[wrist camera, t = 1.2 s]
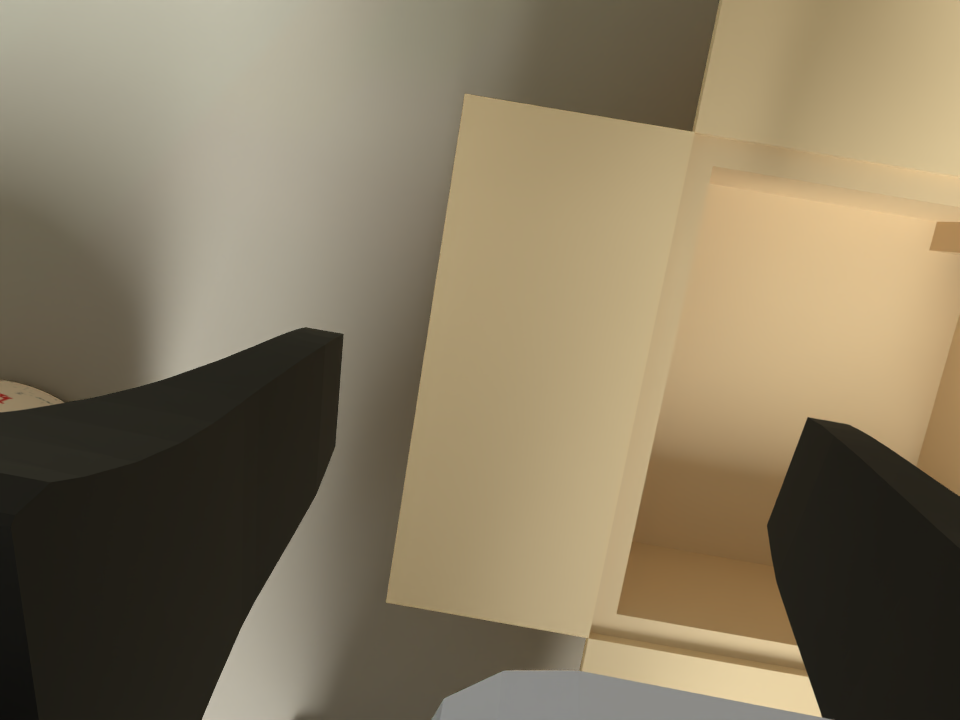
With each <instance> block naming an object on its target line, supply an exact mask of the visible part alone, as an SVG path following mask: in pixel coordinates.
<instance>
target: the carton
mask: <svg viewBox="0 0 960 720" xmlns="http://www.w3.org/2000/svg"><path fill="white" fill-rule="evenodd" d="M807 417H810V418H816V419H821V420H827V421H832V422H838V423H844V424H849V425H851V426H853V427H855V428H857V429H859V430H861V431H863V432H864V433H866V434H868V435H869V436H871V437H873V438H874V439H876V440H877V441H879V442H881V443H882V444H884V445H885V446H887V447H888V448H890V449H891V450H893V451H894V452H896V453H897V454H899V455H900V456H902V457H903V458H904V459H906V460H907V461H909V462H910V463H912V464H913V465H915V466H916V467H917V468H919V469H920V470H922V471H923V472H925V473H926V474H928V475H929V476H930V477H932V478H933V479H935V480H936V481H938V482H939V483H941V484H942V485H944V486H945V487H946V488H948V489H949V490H951V491H952V492H954V493H955V494H957V495H958V496H960V0H720V1H719V5H718V10H717V15H716V20H715V25H714V29H713V34H712V39H711V44H710V49H709V53H708V58H707V63H706V68H705V72H704V77H703V82H702V87H701V92H700V96H699V101H698V106H697V111H696V115H695V120H694V125H693V130H692V131H686V130H680V129H674V128H668V127H662V126H656V125H650V124H644V123H638V122H632V121H626V120H620V119H614V118H608V117H602V116H596V115H590V114H584V113H578V112H572V111H566V110H560V109H554V108H548V107H542V106H536V105H530V104H524V103H518V102H512V101H506V100H500V99H494V98H488V97H482V96H476V95H470V94H465V95H464V101H463V108H462V114H461V121H460V127H459V134H458V140H457V147H456V153H455V159H454V166H453V172H452V179H451V185H450V192H449V198H448V204H447V211H446V217H445V224H444V230H443V237H442V243H441V250H440V256H439V262H438V269H437V275H436V282H435V288H434V295H433V301H432V308H431V314H430V320H429V327H428V333H427V340H426V346H425V353H424V359H423V366H422V372H421V378H420V385H419V391H418V398H417V404H416V411H415V417H414V424H413V430H412V436H411V443H410V449H409V456H408V462H407V469H406V475H405V482H404V488H403V494H402V501H401V507H400V514H399V520H398V527H397V533H396V540H395V546H394V552H393V559H392V565H391V572H390V578H389V585H388V591H387V597H386V603H391V604H397V605H402V606H408V607H414V608H419V609H425V610H431V611H436V612H442V613H448V614H453V615H459V616H465V617H471V618H476V619H482V620H488V621H493V622H499V623H505V624H510V625H516V626H522V627H527V628H533V629H539V630H544V631H550V632H556V633H561V634H567V635H573V636H578V637H584V638H586V641H585V646H584V651H583V656H582V661H581V665H580V670H579V671H584V672H589V673H594V674H599V675H604V676H610V677H615V678H620V679H625V680H630V681H636V682H641V683H646V684H651V685H656V686H661V687H667V688H672V689H677V690H682V691H687V692H692V693H698V694H703V695H708V696H713V697H718V698H724V699H729V700H734V701H739V702H744V703H749V704H755V705H760V706H765V707H770V708H775V709H781V710H786V711H791V712H796V713H801V714H806V715H812V716H817V717H822V716H821V712H820V709H819V706H818V703H817V701H816V698H815V695H814V692H813V689H812V686H811V683H810V680H809V677H808V674H807V672H806V669H805V666H804V663H803V660H802V657H801V654H800V651H799V648H798V645H797V643H796V640H795V637H794V634H793V631H792V628H791V625H790V622H789V619H788V616H787V613H786V610H785V607H784V604H783V601H782V598H781V595H780V592H779V589H778V585H777V582H776V578H775V572H774V567H773V562H772V557H771V550H770V543H769V537H768V530H767V524H768V521H769V518H770V516H771V513H772V510H773V508H774V505H775V502H776V500H777V497H778V494H779V492H780V489H781V487H782V484H783V481H784V479H785V476H786V473H787V471H788V468H789V465H790V463H791V460H792V457H793V455H794V452H795V449H796V447H797V444H798V441H799V439H800V436H801V433H802V431H803V428H804V425H805V423H806V420H807Z"/></svg>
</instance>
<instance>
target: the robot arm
mask: <svg viewBox="0 0 960 720" xmlns="http://www.w3.org/2000/svg"><path fill="white" fill-rule="evenodd" d="M342 347H343V334H340V333H334V332H329V331H323V330H317V329H312V328H306V327H305V328H301V329H297V330H294V331H291V332H288V333H285V334H283V335H280V336H278V337H275V338H273V339H270V340H268V341H265V342H263V343H261V344H258V345H256V346H253V347H251V348H248V349H246V350H243V351H241V352H238V353H236V354H234V355H231V356H229V357H226V358H224V359H221V360H219V361H216V362H213V363H210V364H207V365H204V366H202V367H199V368H196V369H193V370H190V371H187V372H185V373H182V374H179V375H176V376H173V377H170V378H167V379H164V380H161V381H158V382H154V383H151V384H147V385H144V386H140V387H137V388H133V389H129V390H124V391H120V392H116V393H112V394H108V395H104V396H99V397H95V398H90V399H84V400H78V401H72V402H66V403H60V404H55V405H49V406H43V407H37V408H31V409H25V410H17V411H8V412H0V720H202V717H203V715H204V713H205V710H206V708H207V705H208V703H209V701H210V698H211V696H212V693H213V691H214V689H215V686H216V684H217V682H218V679H219V677H220V675H221V672H222V670H223V668H224V666H225V663H226V661H227V659H228V656H229V654H230V652H231V650H232V647H233V645H234V643H235V640H236V638H237V636H238V634H239V631H240V629H241V627H242V625H243V623H244V621H245V619H246V617H247V615H248V613H249V611H250V610H251V608H252V606H253V604H254V602H255V600H256V598H257V597H258V595H259V593H260V592H261V590H262V588H263V586H264V585H265V583H266V581H267V579H268V578H269V576H270V574H271V573H272V571H273V569H274V567H275V566H276V564H277V562H278V561H279V559H280V557H281V555H282V554H283V552H284V550H285V548H286V547H287V545H288V543H289V542H290V540H291V538H292V536H293V535H294V533H295V531H296V530H297V528H298V526H299V524H300V522H301V521H302V519H303V517H304V515H305V514H306V512H307V510H308V508H309V507H310V505H311V503H312V501H313V499H314V498H315V496H316V494H317V491H318V489H319V486H320V484H321V481H322V479H323V476H324V474H325V471H326V469H327V466H328V464H329V461H330V458H331V456H332V453H333V450H334V448H335V441H336V428H337V415H338V401H339V388H340V374H341V361H342ZM767 530H768V537H769V543H770V550H771V557H772V562H773V567H774V572H775V578H776V582H777V585H778V589H779V592H780V595H781V598H782V601H783V604H784V607H785V610H786V613H787V616H788V619H789V622H790V625H791V628H792V631H793V634H794V637H795V640H796V643H797V645H798V648H799V651H800V654H801V657H802V660H803V663H804V666H805V669H806V672H807V674H808V677H809V680H810V683H811V686H812V689H813V692H814V695H815V698H816V701H817V703H818V706H819V709H820V712H821V716H822V717H817V716H812V715H806V714H801V713H796V712H791V711H786V710H781V709H775V708H770V707H765V706H760V705H755V704H749V703H744V702H739V701H734V700H729V699H724V698H718V697H713V696H708V695H703V694H698V693H692V692H687V691H682V690H677V689H672V688H667V687H661V686H656V685H651V684H646V683H641V682H636V681H630V680H625V679H620V678H615V677H610V676H604V675H599V674H594V673H589V672H584V671H579V670H506V671H502V672H500V673H497V674H495V675H493V676H491V677H489V678H487V679H484V680H482V681H480V682H478V683H476V684H474V685H472V686H469V687H467V688H465V689H463V690H461V691H459V692H456V693H454V694H452V695H450V696H448V697H446V698H444V699H443V701H442V703H441V704H440V706H439V708H438V709H437V711H436V713H435V714H434V716H433V718H432V719H431V720H960V496H958V495H957V494H955V493H954V492H952V491H951V490H949V489H948V488H946V487H945V486H944V485H942V484H941V483H939V482H938V481H936V480H935V479H933V478H932V477H930V476H929V475H928V474H926V473H925V472H923V471H922V470H920V469H919V468H917V467H916V466H915V465H913V464H912V463H910V462H909V461H907V460H906V459H904V458H903V457H902V456H900V455H899V454H897V453H896V452H894V451H893V450H891V449H890V448H888V447H887V446H885V445H884V444H882V443H881V442H879V441H877V440H876V439H874V438H873V437H871V436H869V435H868V434H866V433H864V432H863V431H861V430H859V429H857V428H855V427H853V426H851V425H849V424H844V423H838V422H832V421H827V420H821V419H816V418H810V417H807V420H806V423H805V425H804V428H803V431H802V433H801V436H800V439H799V441H798V444H797V447H796V449H795V452H794V455H793V457H792V460H791V463H790V465H789V468H788V471H787V473H786V476H785V479H784V481H783V484H782V487H781V489H780V492H779V494H778V497H777V500H776V502H775V505H774V508H773V510H772V513H771V516H770V518H769V521H768V524H767Z"/></svg>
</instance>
